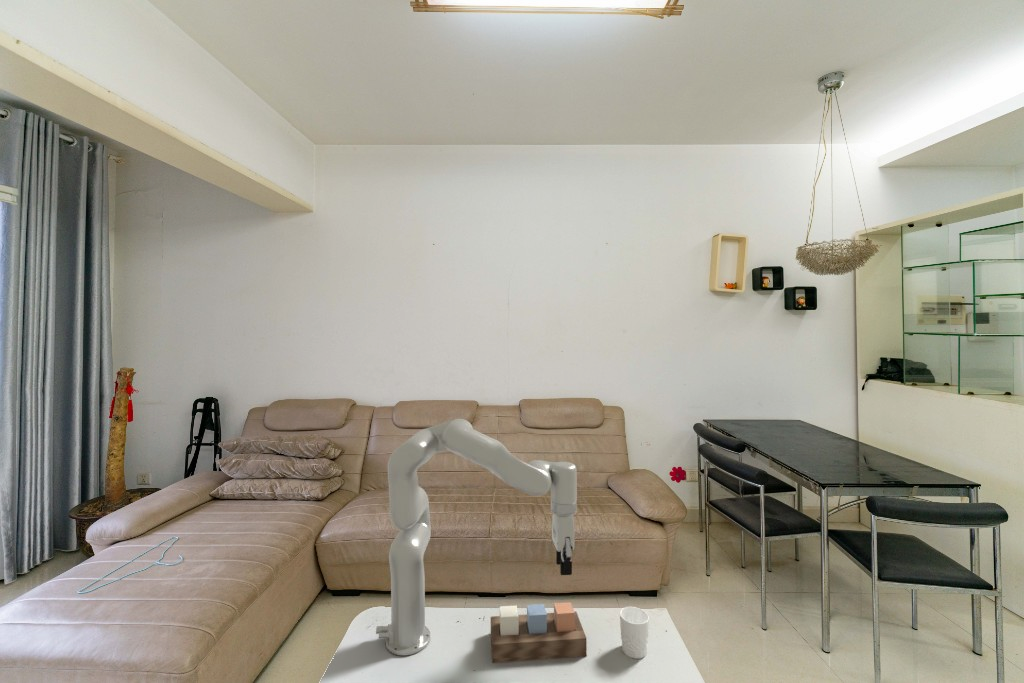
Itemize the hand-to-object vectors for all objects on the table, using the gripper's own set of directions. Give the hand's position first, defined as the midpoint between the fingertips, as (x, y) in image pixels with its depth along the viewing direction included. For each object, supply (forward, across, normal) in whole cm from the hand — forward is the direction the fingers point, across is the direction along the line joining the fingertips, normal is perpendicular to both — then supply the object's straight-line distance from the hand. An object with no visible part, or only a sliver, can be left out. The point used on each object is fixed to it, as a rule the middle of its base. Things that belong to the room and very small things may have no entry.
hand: (563, 568), depth 126 cm
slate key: (+17, 0, -8) cm, 19 cm away
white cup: (+22, +5, +19) cm, 29 cm away
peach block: (+17, 0, 0) cm, 17 cm away
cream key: (+17, 0, -16) cm, 24 cm away
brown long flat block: (+21, 0, -8) cm, 23 cm away
